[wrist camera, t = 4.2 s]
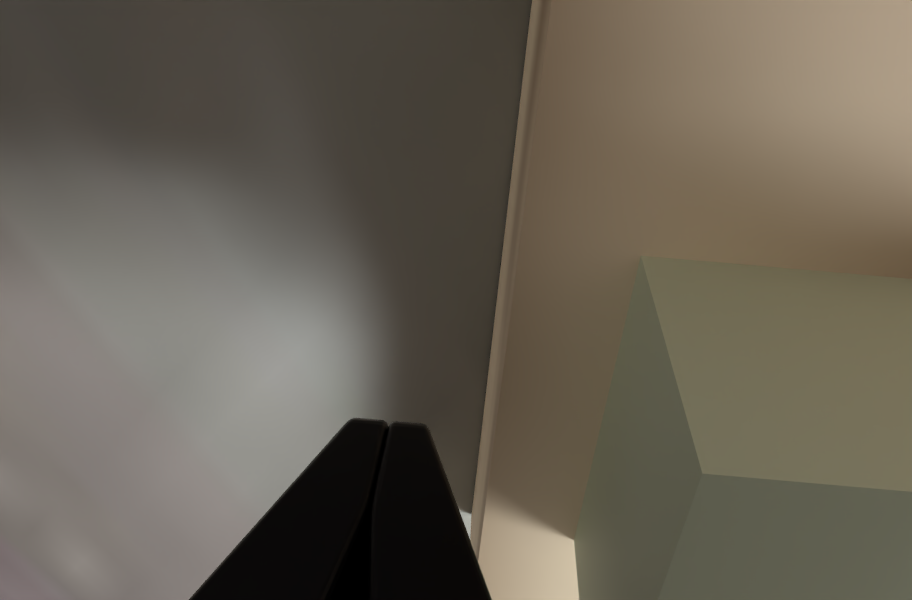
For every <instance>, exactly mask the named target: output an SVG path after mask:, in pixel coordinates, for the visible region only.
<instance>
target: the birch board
mask: <svg viewBox="0 0 912 600" xmlns="http://www.w3.org/2000/svg"><path fill="white" fill-rule="evenodd" d="M641 256H650V257H662V258H674V259H685V260H697V261H709V262H721V263H732V264H744V265H756V266H768V267H779V268H791V269H803V270H814V271H826V272H838V273H850V274H861V275H873V276H885V277H897V278H908V279H912V0H532V5H531V13H530V22H529V30H528V39H527V47H526V56H525V64H524V73H523V81H522V90H521V98H520V107H519V115H518V124H517V133H516V141H515V150H514V158H513V167H512V175H511V184H510V192H509V201H508V209H507V218H506V226H505V235H504V243H503V252H502V260H501V269H500V277H499V286H498V294H497V303H496V311H495V320H494V329H493V337H492V346H491V354H490V363H489V371H488V380H487V388H486V397H485V405H484V414H483V422H482V431H481V439H480V448H479V456H478V465H477V473H476V482H475V490H474V499H473V508H472V516H471V537H470V541H471V544H472V547H473V550H474V552H475V555H476V558H477V560H478V563H479V566H480V569H481V571H482V574H483V577H484V579H485V582H486V585H487V588H488V590H489V593H490V596H491V598H492V600H579V592H578V580H577V569H576V558H575V547H574V537H575V533H576V529H577V525H578V520H579V516H580V512H581V508H582V503H583V499H584V495H585V491H586V486H587V482H588V478H589V474H590V470H591V465H592V461H593V457H594V453H595V448H596V444H597V440H598V436H599V431H600V427H601V423H602V419H603V414H604V410H605V406H606V402H607V397H608V393H609V389H610V385H611V380H612V376H613V372H614V368H615V363H616V359H617V355H618V351H619V346H620V342H621V338H622V334H623V329H624V325H625V321H626V317H627V312H628V308H629V304H630V300H631V295H632V291H633V287H634V283H635V278H636V274H637V270H638V266H639V262H640V257H641Z"/></svg>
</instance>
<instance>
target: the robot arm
mask: <svg viewBox="0 0 912 600" xmlns="http://www.w3.org/2000/svg"><path fill="white" fill-rule="evenodd" d="M189 600H492V598H491V596H490V593H489V590H488V588H487V585H486V582H485V579H484V577H483V574H482V571H481V569H480V566H479V563H478V560H477V558H476V555H475V552H474V550H473V547H472V544H471V541H470V539H469V536H468V533H467V531H466V528H465V525H464V522H463V520H462V517H461V514H460V512H459V509H458V506H457V503H456V501H455V498H454V495H453V493H452V490H451V487H450V484H449V482H448V479H447V476H446V474H445V471H444V468H443V465H442V463H441V460H440V457H439V455H438V452H437V449H436V446H435V444H434V441H433V438H432V436H431V433H430V430H429V428H428V427H427V426H426V425H425V424H421V423H409V422H398V421H395V422H392V423H391V424H390V425H389V427H388V424H387V423H386V422H385V421H383V420H374V419H363V418H353V419H350V420H349V421H348V422H347V423H346V424H345V425H344V426H343V427H342V428H341V429H340V430H339V431H338V433H337V434H336V435H335V436H334V437H333V438H332V439H331V440H330V442H329V443H328V444H327V445H326V446H325V447H324V448H323V449H322V451H321V452H320V453H319V454H318V455H317V456H316V457H315V458H314V460H313V461H312V462H311V463H310V464H309V465H308V466H307V467H306V469H305V470H304V471H303V472H302V473H301V474H300V475H299V476H298V478H297V479H296V480H295V481H294V482H293V483H292V484H291V485H290V487H289V488H288V489H287V490H286V491H285V492H284V493H283V494H282V496H281V497H280V498H279V499H278V500H277V501H276V502H275V503H274V505H273V506H272V507H271V508H270V509H269V510H268V511H267V512H266V514H265V515H264V516H263V517H262V518H261V519H260V520H259V521H258V523H257V524H256V525H255V526H254V527H253V528H252V529H251V530H250V532H249V533H248V534H247V535H246V536H245V537H244V538H243V539H242V541H241V542H240V543H239V544H238V545H237V546H236V547H235V548H234V550H233V551H232V552H231V553H230V554H229V555H228V556H227V557H226V559H225V560H224V561H223V562H222V563H221V564H220V565H219V566H218V568H217V569H216V570H215V571H214V572H213V573H212V574H211V575H210V577H209V578H208V579H207V580H206V581H205V582H204V583H203V584H202V585H201V587H200V588H199V589H198V590H197V591H196V592H195V593H194V594H193V596H192V597H191V598H190V599H189Z"/></svg>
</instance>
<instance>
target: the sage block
mask: <svg viewBox="0 0 912 600" xmlns="http://www.w3.org/2000/svg"><path fill="white" fill-rule="evenodd" d="M574 547H575V558H576V569H577V580H578V592H579V600H912V279H908V278H897V277H885V276H873V275H861V274H850V273H838V272H826V271H814V270H803V269H791V268H779V267H768V266H756V265H744V264H732V263H721V262H709V261H697V260H685V259H674V258H662V257H650V256H641V257H640V262H639V266H638V270H637V274H636V278H635V283H634V287H633V291H632V295H631V300H630V304H629V308H628V312H627V317H626V321H625V325H624V329H623V334H622V338H621V342H620V346H619V351H618V355H617V359H616V363H615V368H614V372H613V376H612V380H611V385H610V389H609V393H608V397H607V402H606V406H605V410H604V414H603V419H602V423H601V427H600V431H599V436H598V440H597V444H596V448H595V453H594V457H593V461H592V465H591V470H590V474H589V478H588V482H587V486H586V491H585V495H584V499H583V503H582V508H581V512H580V516H579V520H578V525H577V529H576V533H575V537H574Z"/></svg>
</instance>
